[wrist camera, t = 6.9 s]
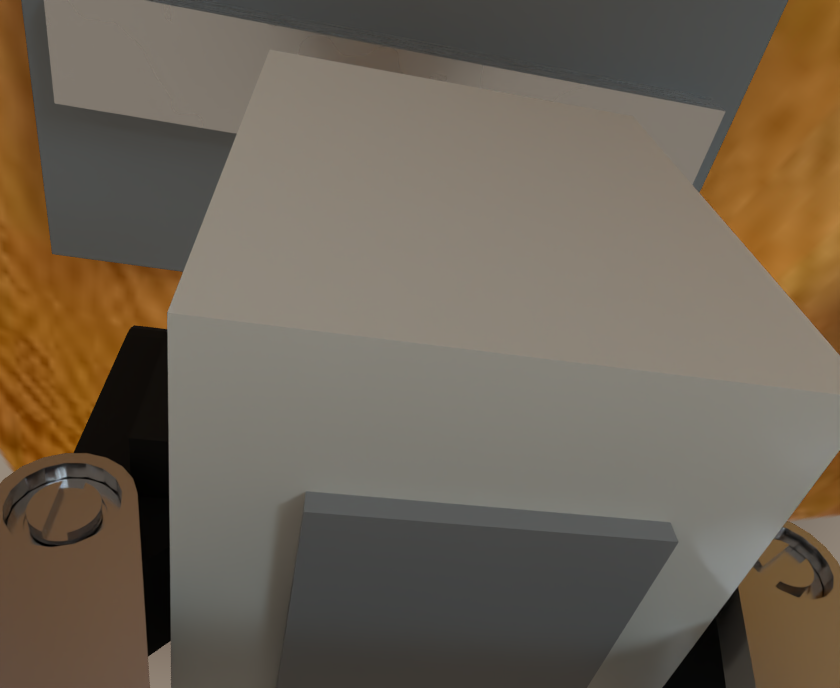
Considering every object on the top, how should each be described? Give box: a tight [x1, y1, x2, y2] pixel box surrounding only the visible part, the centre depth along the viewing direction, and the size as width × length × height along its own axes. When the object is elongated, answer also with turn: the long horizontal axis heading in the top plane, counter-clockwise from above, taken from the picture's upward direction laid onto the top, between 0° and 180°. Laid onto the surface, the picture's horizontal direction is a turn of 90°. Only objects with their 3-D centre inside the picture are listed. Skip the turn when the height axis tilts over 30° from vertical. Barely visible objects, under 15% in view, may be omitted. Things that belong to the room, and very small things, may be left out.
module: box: [167, 50, 840, 688], centre depth 9 cm, size 5×8×6 cm, turn 169°
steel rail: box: [44, 0, 726, 185], centre depth 20 cm, size 18×3×1 cm, turn 79°
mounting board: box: [21, 0, 788, 272], centre depth 21 cm, size 20×14×2 cm
